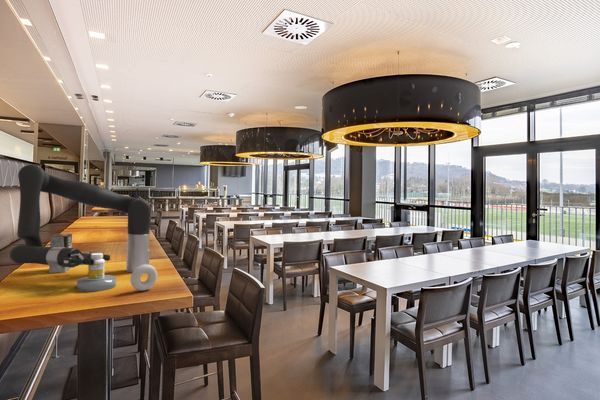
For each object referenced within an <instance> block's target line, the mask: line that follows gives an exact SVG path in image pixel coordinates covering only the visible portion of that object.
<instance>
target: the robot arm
mask: <svg viewBox="0 0 600 400" xmlns="http://www.w3.org/2000/svg"><path fill="white" fill-rule="evenodd" d="M17 179H18V184H19V197H20V198H19V212H18V223H17V232H16V236H17V238H18V239H20V240H23V241H24V243H25V244H19V245H15V246H14V247H13V248H12V249H11V250H10V251H9V258H10V260H11V261H12V262H14V263H16V264H37V265H45V266H49V265H53V266H58V267H70V269H72V268H76V267H78V266H85V265H86V266H88V265H94V262H95V260H94V259H92V258H91V254H93V253H99V251H97V252H95V251H89V252H81V250H80V249H79V248H76V247H72V248H68V247H50V246H43V244H42V239H41V236H40V229H41V208H40V206H41V205H40V203H41V202H40V201H41V200H40V198H41V193H47V194H51V195H55V196H58V197H62V198H65V199H68V200H71V201H74V202H76V203H80V204H84V205H87V206H91V207H95V208H100V209H101V208H102V209H109V210H114V211H119V212H121V213H123V214H126V215H127V240H126V242H127V243H126V244H127V245H126V271H125V272H128V273H133V271H134V270H135V269H136V268H137V267H139V266H140V265H144V264H148V265H150V255H151V252H150V231H151V230H150V228H151V206H150V204H149V202H148V201H147V200H145V199H143V198H137V197H131V196H127V195H123V194H120V193H117V192H115V191H112V190H110V189H108V188H105V187H102V186H99V185H96V184H94V183H93V184H92V183H90V182H86V181H79V180H70V179H69V180H68V179H64V178H60V177H58V176H54V175H52V174H49V173H46V171H45V170H44V169H43V168H42V167H40V166H39V165H36V164H26V165H24V166H22V167H21V168H20V170H19V171H18V175H17ZM102 253H103V258H102V259H104V260H105V262H107V261H108V262H109V261H111V254H105V252H102Z"/></svg>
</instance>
